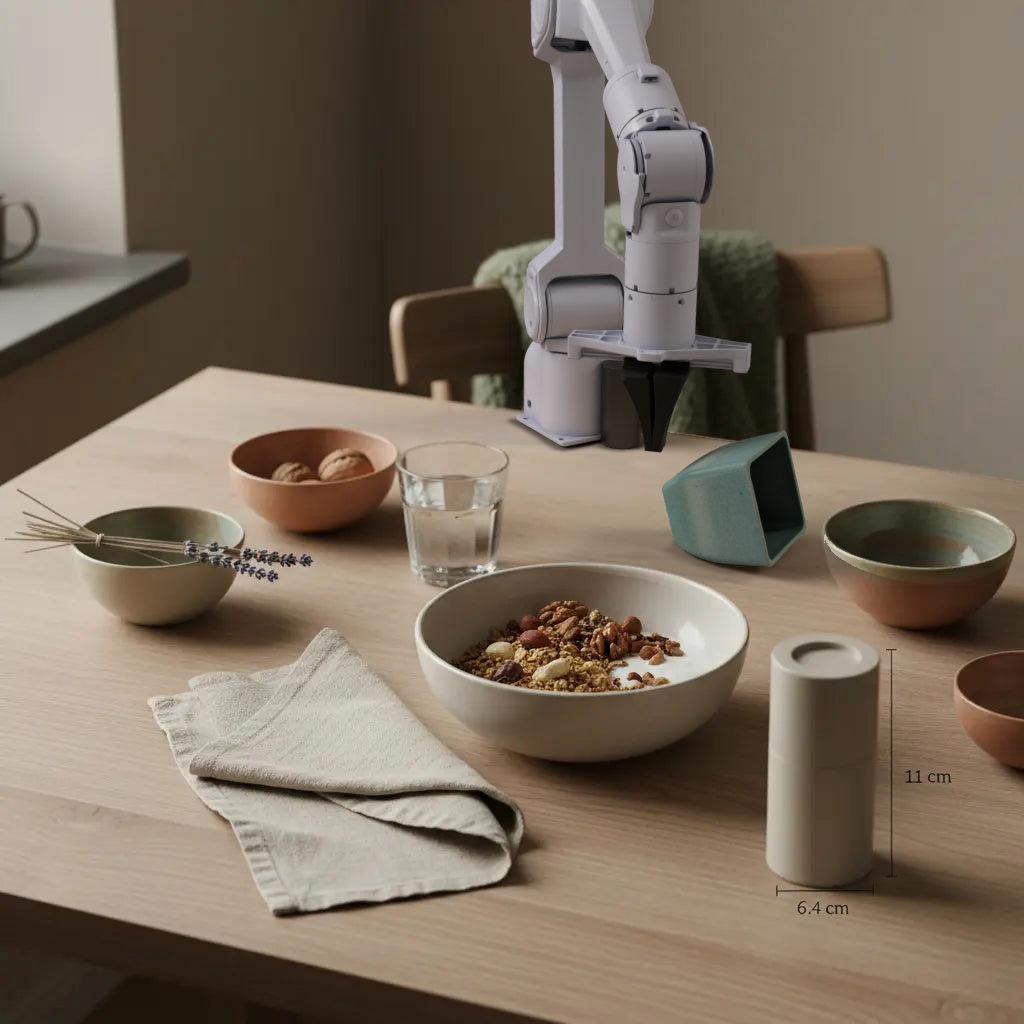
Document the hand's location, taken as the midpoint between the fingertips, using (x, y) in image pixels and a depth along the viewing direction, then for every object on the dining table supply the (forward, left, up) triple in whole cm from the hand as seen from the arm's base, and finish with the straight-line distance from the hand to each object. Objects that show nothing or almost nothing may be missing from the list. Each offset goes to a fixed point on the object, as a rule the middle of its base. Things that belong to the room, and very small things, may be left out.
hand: (654, 447), depth 124 cm
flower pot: (+2, +1, -5) cm, 5 cm away
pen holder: (-20, +10, -8) cm, 23 cm away
